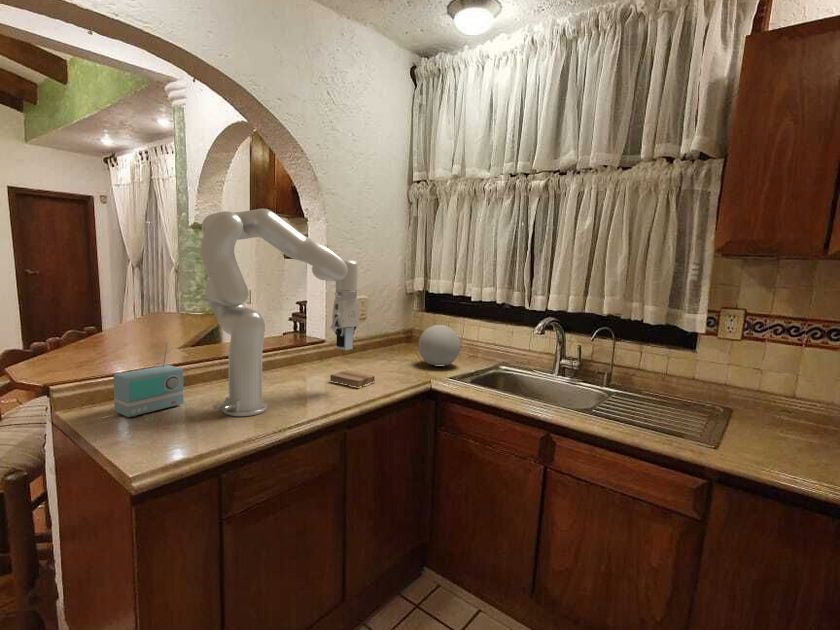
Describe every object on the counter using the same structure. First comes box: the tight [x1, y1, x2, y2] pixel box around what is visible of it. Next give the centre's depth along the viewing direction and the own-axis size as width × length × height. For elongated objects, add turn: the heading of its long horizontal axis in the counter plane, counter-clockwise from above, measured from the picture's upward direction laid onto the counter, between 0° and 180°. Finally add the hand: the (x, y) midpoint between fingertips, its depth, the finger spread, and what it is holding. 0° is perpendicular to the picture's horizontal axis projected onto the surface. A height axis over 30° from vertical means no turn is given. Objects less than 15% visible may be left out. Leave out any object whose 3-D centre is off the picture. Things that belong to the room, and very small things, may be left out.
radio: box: [113, 340, 184, 418], centre depth 126 cm, size 16×9×20 cm, turn 149°
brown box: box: [329, 369, 375, 387], centre depth 167 cm, size 10×14×3 cm
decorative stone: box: [418, 324, 461, 366], centre depth 202 cm, size 20×20×20 cm
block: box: [336, 326, 354, 351], centre depth 153 cm, size 4×4×8 cm
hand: (344, 345), depth 153 cm, fingers closed on block, 4 cm apart
